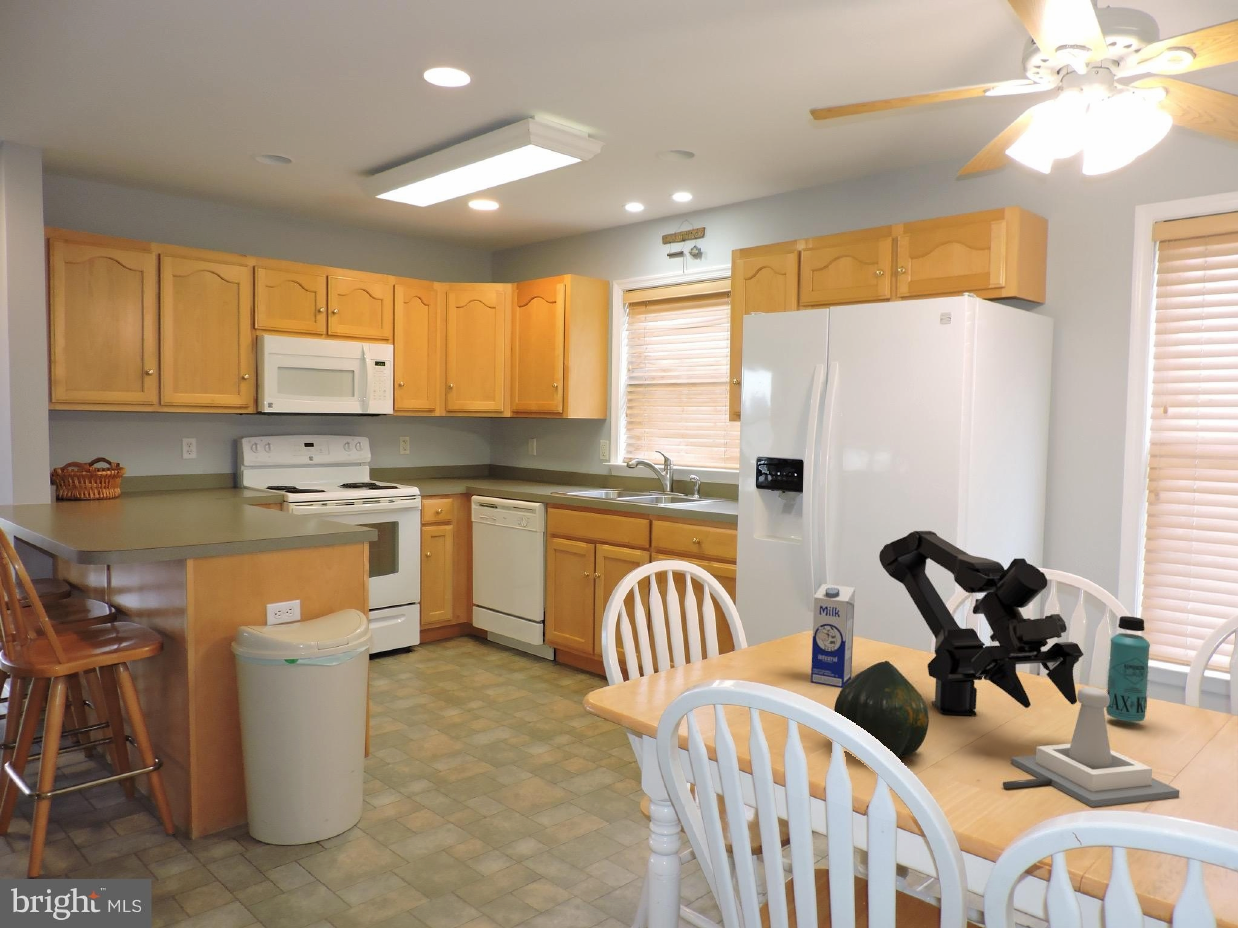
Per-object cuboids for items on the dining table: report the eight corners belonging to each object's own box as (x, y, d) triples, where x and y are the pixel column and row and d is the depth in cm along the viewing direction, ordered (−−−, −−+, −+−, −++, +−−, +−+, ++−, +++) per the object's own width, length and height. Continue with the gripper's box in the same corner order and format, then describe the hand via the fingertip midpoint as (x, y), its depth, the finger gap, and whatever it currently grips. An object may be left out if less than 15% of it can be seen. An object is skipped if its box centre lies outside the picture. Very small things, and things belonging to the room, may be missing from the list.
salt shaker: (1105, 783, 126) (1110, 697, 126) (1063, 772, 130) (1067, 688, 130) (1114, 772, 131) (1119, 689, 130) (1074, 761, 135) (1078, 681, 134)
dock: (1045, 812, 118) (1046, 787, 118) (968, 767, 134) (969, 745, 133) (1179, 796, 125) (1180, 773, 125) (1091, 755, 140) (1092, 734, 140)
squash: (862, 739, 129) (914, 661, 133) (804, 712, 143) (852, 641, 147) (915, 791, 134) (964, 713, 138) (853, 759, 147) (899, 690, 151)
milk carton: (852, 680, 179) (856, 586, 179) (843, 688, 174) (847, 591, 173) (819, 674, 183) (822, 582, 182) (809, 682, 177) (813, 587, 176)
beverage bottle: (1096, 717, 160) (1102, 612, 159) (1130, 717, 160) (1136, 613, 159) (1120, 730, 153) (1126, 620, 152) (1154, 730, 154) (1161, 621, 153)
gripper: (986, 598, 140) (1032, 684, 130) (1077, 595, 145) (1129, 677, 135) (952, 633, 148) (993, 717, 138) (1040, 630, 153) (1086, 710, 143)
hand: (1051, 704), depth 138 cm, fingers open, 9 cm apart
